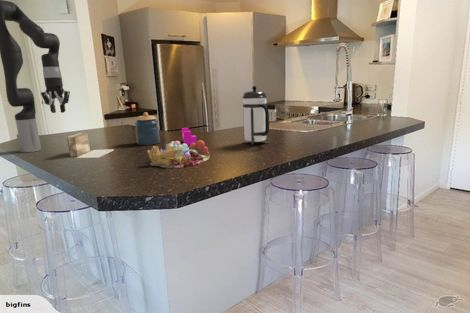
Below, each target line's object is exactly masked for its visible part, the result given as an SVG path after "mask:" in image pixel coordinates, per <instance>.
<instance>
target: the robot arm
mask: <svg viewBox="0 0 470 313" xmlns="http://www.w3.org/2000/svg"><path fill="white" fill-rule="evenodd" d="M6 21H7V22H15V23H17V24H18V27H19V29H20V30H21V32H22V33H23V34H24V35H26V36H27V37H29V38H30V40H31V41H32V42H33V44H34V45H35V46H36V47H38V48H39V49H48V51H47V53H43V54H41V56H40V58H41V63H42V64H41V65H42V73H43V80H44V86H45V88H46V89H45V91H42V92H40V95H41V97H42V99H43V101H44V103H45V104H46V105H49V107H50V112H51V113H52V114H56V113H57V110H56V105H55V102H56V99H57V101H58V103H59V108H60V112H61V113H65V112H66V106H65V105H66V104H68V103H69V101H70V94H71V92H70V91H69V90H65V89H64V87H63V86H64V85H63V77H62V72H61V69H60V68H61V67H60V62H59V54H60V45H61V44H60V43H61V41H60V39H59V37H58V35H56V34H55V33H51V32H45V31H44V29H43V28H42V27H41V26H40V25H38V24H37V23H36V22H35V21H33V20H32V19H31V18H29V17H28V15H26V13H25V12H23V10H21V8H20V7H19V6H18V5H17V4H15V3H14V2H12V1H9V0H0V59H1V64H2V69H3V74H4V81H5V91H6V99H7V102H8V104H9V105H10V106H11V107H12V108H13V107H14V108H16V107H22V110H20V111H18V112H17V113H15V114H14V120H15V125H16V129H17V133H16V139H17V145H18V148H19V149H18V150H19V152H20V153H33V152H39V151H41V150H42V146H41V140H40V135H39V129H38V124H37V117H36V112H37V111H36V104H35V97H34V96H35V95H34V93H33V91H32V90H31V89H30V88H29V87H28V88H27V87H23V88H22V87H21V88H20V87H19V88H18V83H17V82H18V81H17V79H18V75H19V73H20V71H21V69H22V66H23V64H24V58H23V52H22V48H21V46H20V45H19V43H18V42H17V40H16V39H15V38H14V36H12V34H11V32H10V31H9V29H8V27H7V23H6Z"/></svg>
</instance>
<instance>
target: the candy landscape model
mask: <svg viewBox="0 0 470 313" xmlns="http://www.w3.org/2000/svg"><path fill="white" fill-rule="evenodd" d="M205 145H206V144H205V141H204V140H202V139H199V140H196V144H195V143H191V144H190V145H187V144H185V143H184V142H183V143H181V141H179V140H175V141H174V140H173V141H171V142H170V143H166V144H165V149H162V147H161V148H160V149H159V146H158V145H153V146H152V148H151V149H148V150H147V154H148V157H149V159H150V163H149V165H150V166H153V167H154V166H156V167H157V166H159V167H161V168H169V169H171V168H172V169H173V168H176V169H177V168H178V169H179V168H184V167H185V168H189V167H190V166H197V165H198V166H199V164H201V163H203V162H206V161H208V160H209V159H210V157H211V156H210V154H211V153H210V152H209V147H208V146H205ZM196 148H197V149H199V150H201V152H203V153H204V154H205V155H203V154H199V153H198V151H197V150H196Z"/></svg>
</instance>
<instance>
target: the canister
mask: <svg viewBox="0 0 470 313" xmlns="http://www.w3.org/2000/svg"><path fill="white" fill-rule="evenodd" d="M135 120H136V122H135V123H134V125H135V136H136V143H137V145H139V146H152V145H157V144H159V143H160V141H161V138H160V131H159V130H160V129H159V125H158V124H159V121H157V117H156V116H154V115H149V113H148V112H146V111H145V112H143V114H142V115H139V116H138V117H137V118H135Z"/></svg>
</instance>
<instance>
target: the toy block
mask: <svg viewBox="0 0 470 313" xmlns="http://www.w3.org/2000/svg"><path fill="white" fill-rule="evenodd" d="M189 129H190V128H189V127H182V128H181V137H182V142H183V144H184V143H185V144H187V146H190V144H191V143H195V144H196V142H197V135H192V131H191V130H189Z"/></svg>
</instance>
